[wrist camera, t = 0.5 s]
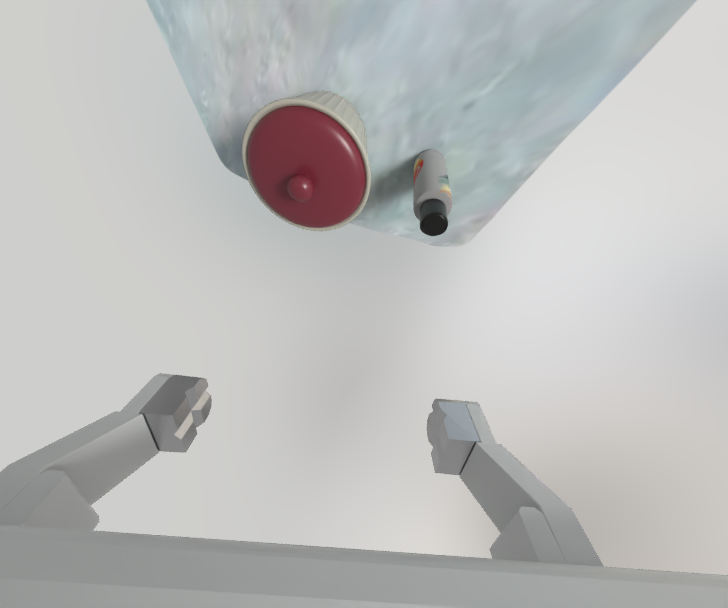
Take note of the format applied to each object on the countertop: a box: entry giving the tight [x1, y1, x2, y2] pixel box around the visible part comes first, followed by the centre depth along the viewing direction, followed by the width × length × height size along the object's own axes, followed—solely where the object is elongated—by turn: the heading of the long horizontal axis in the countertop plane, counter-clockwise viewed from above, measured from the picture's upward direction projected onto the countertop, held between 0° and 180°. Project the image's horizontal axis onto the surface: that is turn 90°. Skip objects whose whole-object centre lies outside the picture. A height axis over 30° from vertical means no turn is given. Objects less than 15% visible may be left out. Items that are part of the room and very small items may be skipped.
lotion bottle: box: [413, 149, 452, 236], centre depth 45 cm, size 6×6×20 cm
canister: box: [242, 91, 371, 231], centre depth 42 cm, size 18×18×21 cm
